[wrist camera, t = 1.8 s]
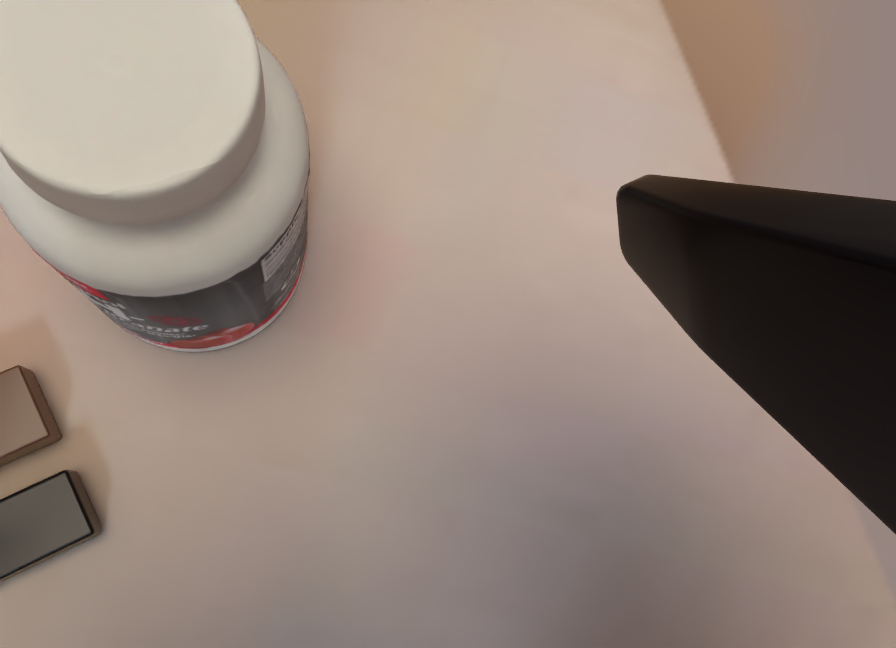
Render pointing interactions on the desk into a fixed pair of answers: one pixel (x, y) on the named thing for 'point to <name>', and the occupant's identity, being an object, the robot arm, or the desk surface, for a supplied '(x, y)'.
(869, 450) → the robot arm
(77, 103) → the pill bottle
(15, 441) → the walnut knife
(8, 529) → the black-handled fork
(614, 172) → the desk surface
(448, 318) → the desk surface
